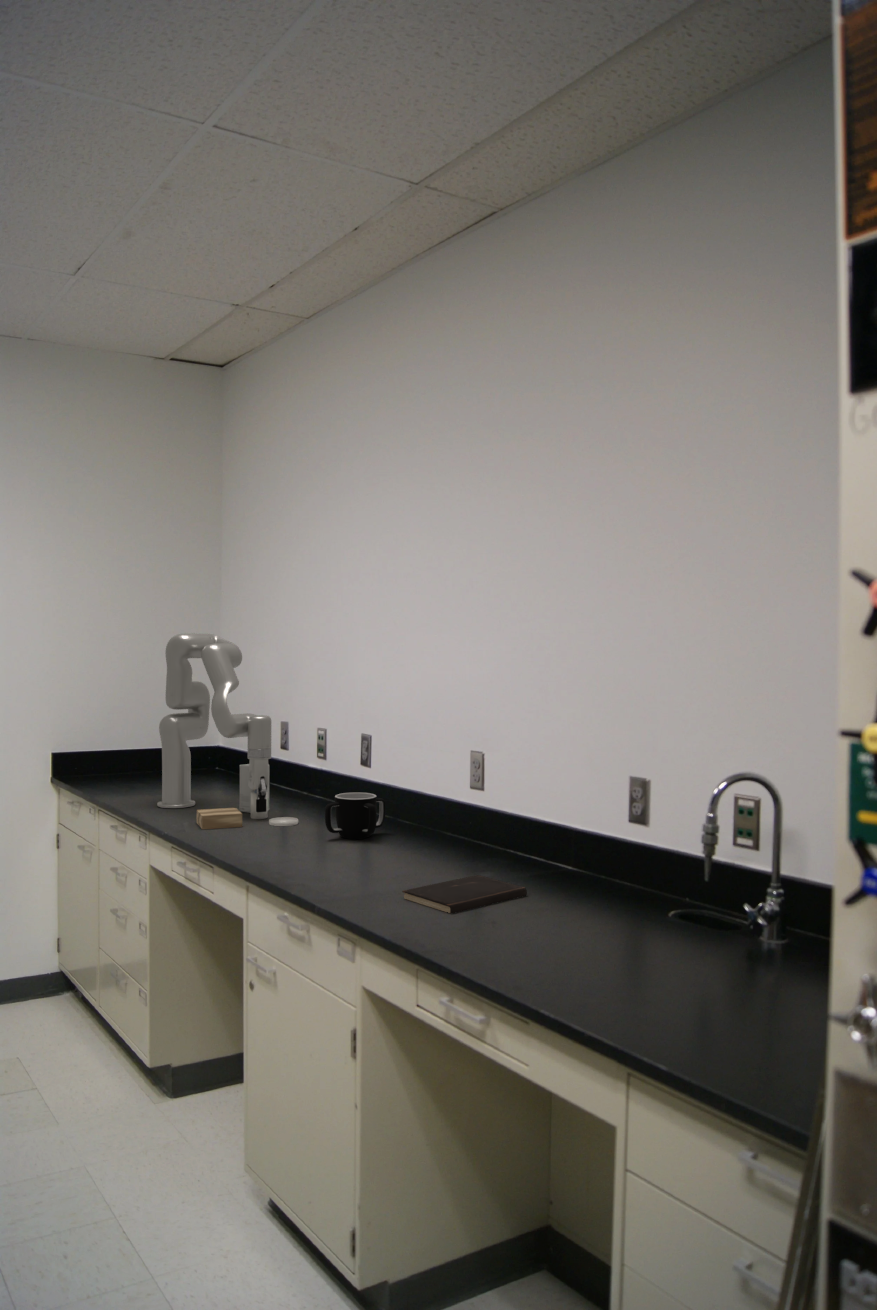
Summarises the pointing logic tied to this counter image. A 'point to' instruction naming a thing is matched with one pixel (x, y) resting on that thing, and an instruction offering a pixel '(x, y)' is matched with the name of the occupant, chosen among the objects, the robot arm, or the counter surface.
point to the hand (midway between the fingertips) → (259, 809)
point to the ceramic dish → (283, 821)
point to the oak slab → (219, 818)
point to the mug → (355, 815)
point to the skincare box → (246, 790)
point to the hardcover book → (464, 893)
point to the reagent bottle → (253, 807)
